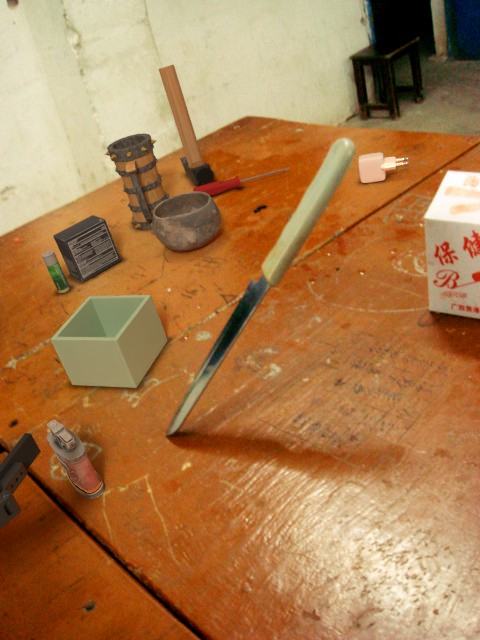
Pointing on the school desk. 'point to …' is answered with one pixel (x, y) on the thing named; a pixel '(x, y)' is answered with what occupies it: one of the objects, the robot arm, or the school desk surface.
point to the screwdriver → (227, 184)
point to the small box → (87, 248)
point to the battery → (55, 271)
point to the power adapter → (377, 166)
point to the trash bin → (110, 341)
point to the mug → (138, 176)
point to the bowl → (186, 221)
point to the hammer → (185, 129)
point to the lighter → (74, 459)
